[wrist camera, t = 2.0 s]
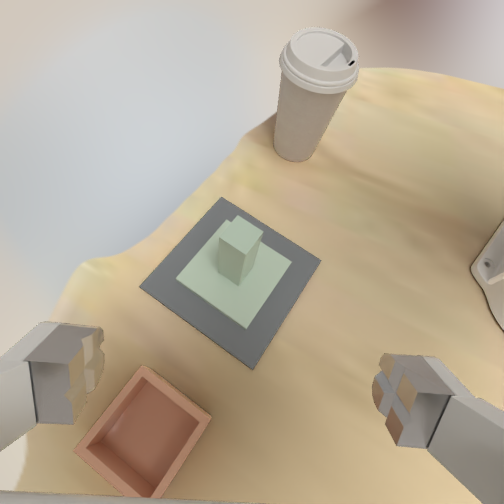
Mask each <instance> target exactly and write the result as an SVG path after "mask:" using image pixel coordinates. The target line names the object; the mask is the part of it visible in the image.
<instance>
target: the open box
mask: <svg viewBox="0 0 504 504" xmlns="http://www.w3.org/2000/svg"><path fill="white" fill-rule="evenodd" d="M211 417H212V416H211V415H210V414H208V413H207V412H206V411H205V410H203V409H202V408H201V407H199V406H198V405H197V404H196V403H194V402H193V401H192V400H190V399H189V398H188V397H187V396H185V395H184V394H183V393H181V392H180V391H179V390H178V389H176V388H175V387H174V386H173V385H171V384H170V383H169V382H167V381H166V380H165V379H164V378H162V377H161V376H160V375H158V374H157V373H156V372H155V371H153V370H152V369H151V368H148V367H145V366H143V365H141V366H140V368H139V369H138V370H137V371H136V373H135V374H134V375H133V376H132V378H131V379H130V380H129V381H128V383H127V384H126V385H125V386H124V388H123V389H122V390H121V391H120V393H119V394H118V395H117V396H116V398H115V399H114V400H113V401H112V403H111V404H110V405H109V406H108V408H107V409H106V410H105V411H104V413H103V414H102V415H101V416H100V418H99V419H98V420H97V421H96V423H95V424H94V425H93V426H92V428H91V429H90V430H89V431H88V433H87V434H86V435H85V436H84V438H83V439H82V440H81V441H80V443H79V444H78V445H77V446H76V448H75V449H74V450H73V452H75V453H76V454H77V455H78V456H79V457H80V458H81V459H83V460H84V461H85V462H86V463H87V464H88V465H89V466H91V467H92V468H93V469H94V470H95V471H96V472H97V473H98V474H100V475H101V476H102V477H103V478H104V479H105V480H106V481H108V482H109V483H110V484H111V485H112V486H113V487H114V488H116V489H117V490H118V491H119V492H120V493H121V494H122V495H123V496H125V497H145V498H161V497H162V495H163V494H164V492H165V491H166V489H167V487H168V486H169V484H170V483H171V481H172V480H173V478H174V477H175V475H176V473H177V472H178V470H179V469H180V467H181V466H182V464H183V463H184V461H185V459H186V458H187V456H188V455H189V453H190V452H191V450H192V449H193V447H194V445H195V444H196V442H197V441H198V439H199V438H200V436H201V435H202V433H203V431H204V430H205V428H206V427H207V425H208V424H209V422H210V420H211Z"/></svg>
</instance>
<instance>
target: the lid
mask: <svg viewBox="0 0 504 504" xmlns="http://www.w3.org/2000/svg"><path fill="white" fill-rule="evenodd" d="M262 236H263V231H262V230H260V229H259V228H257V227H256V226H254V225H252V224H251V223H249V222H248V221H246V220H245V219H243V218H242V217H240V216H238V215H237V216H236V218H235V219H234V220H233V221H232V222H230V221H228V220H227V219H226V221H225V222H224V223H223V224H222V225H221V226H220V227H219V229H218V230H217V231H216V232H215V233H214V234H213V236H212V237H211V238H210V239H209V240H208V241H207V243H206V244H205V245H204V246H203V247H202V248H201V249H200V251H199V252H198V253H197V254H196V255H195V256H194V258H193V259H192V260H191V261H190V262H189V263H188V264H187V266H186V267H185V268H184V269H183V270H182V271H181V273H180V274H179V275H178V276H177V277H176V281H177V282H178V283H180V284H181V285H183V286H184V287H185V288H187V289H188V290H190V291H191V292H193V293H194V294H195V295H197V296H198V297H200V298H201V299H202V300H204V301H205V302H207V303H208V304H209V305H211V306H212V307H214V308H215V309H216V310H218V311H219V312H221V313H222V314H223V315H225V316H226V317H228V318H229V319H230V320H232V321H233V322H235V323H236V324H237V325H239V326H240V327H242V328H243V329H244V330H246V329H247V328H248V326H249V325H250V323H251V322H252V320H253V319H254V318H255V316H256V315H257V313H258V312H259V310H260V309H261V307H262V306H263V304H264V303H265V301H266V300H267V298H268V297H269V295H270V294H271V292H272V291H273V290H274V288H275V287H276V285H277V284H278V282H279V281H280V279H281V278H282V276H283V275H284V273H285V272H286V270H287V269H288V267H289V266H290V264H291V263H292V262H291V261H290V260H288V259H287V258H285V257H284V256H282V255H281V254H279V253H277V252H276V251H274V250H273V249H271V248H270V247H268V246H267V245H265V244H264V243H262V242H261V239H262Z"/></svg>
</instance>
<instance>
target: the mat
mask: <svg viewBox="0 0 504 504" xmlns="http://www.w3.org/2000/svg"><path fill="white" fill-rule="evenodd" d="M237 215H238V216H240V217H242V218H243V219H245V220H246V221H248V222H249V223H251V224H252V225H254V226H256V227H257V228H259V229H260V230H262V231H263V236H262V239H261V242H262V243H264V244H265V245H267V246H268V247H270V248H271V249H273V250H274V251H276V252H277V253H279V254H281V255H282V256H284V257H285V258H287V259H288V260H290V261H291V262H292V263H291V264H290V266H289V267H288V269H287V270H286V272H285V273H284V275H283V276H282V278H281V279H280V281H279V282H278V284H277V285H276V287H275V288H274V290H273V291H272V292H271V294H270V295H269V297H268V298H267V300H266V301H265V303H264V304H263V306H262V307H261V309H260V310H259V312H258V313H257V315H256V316H255V318H254V319H253V320H252V322H251V323H250V325H249V326H248V328H247V329H246V330H244V329H243V328H242V327H240V326H239V325H237V324H236V323H235V322H233V321H232V320H230V319H229V318H228V317H226V316H225V315H223V314H222V313H221V312H219V311H218V310H216V309H215V308H214V307H212V306H211V305H209V304H208V303H207V302H205V301H204V300H202V299H201V298H200V297H198V296H197V295H195V294H194V293H193V292H191V291H190V290H188V289H187V288H185V287H184V286H183V285H181V284H180V283H178V282H177V281H176V277H177V276H178V275H179V274H180V273H181V271H182V270H183V269H184V268H185V267H186V266H187V264H188V263H189V262H190V261H191V260H192V259H193V258H194V256H195V255H196V254H197V253H198V252H199V251H200V249H201V248H202V247H203V246H204V245H205V244H206V243H207V241H208V240H209V239H210V238H211V237H212V236H213V234H214V233H215V232H216V231H217V230H218V229H219V227H220V226H221V225H222V224H223V223H224V222H225V221H226V219H227V220H228V221H230V222H232V221H233V220H234V219H235V218H236V216H237ZM320 262H321V260H320V259H318V258H317V257H315V256H314V255H312V254H310V253H309V252H307V251H306V250H304V249H303V248H301V247H299V246H298V245H296V244H295V243H293V242H292V241H290V240H288V239H287V238H285V237H284V236H282V235H281V234H279V233H278V232H276V231H274V230H273V229H271V228H270V227H268V226H267V225H265V224H263V223H262V222H260V221H259V220H257V219H256V218H254V217H252V216H251V215H249V214H248V213H246V212H245V211H243V210H241V209H240V208H238V207H237V206H235V205H234V204H232V203H231V202H229V201H227V200H226V199H224V198H223V197H221V198H220V199H219V200H218V201H217V202H216V203H215V204H214V205H213V206H212V208H211V209H210V210H209V211H208V212H207V213H206V214H205V215H204V216H203V217H202V219H201V220H200V221H199V222H198V223H197V224H196V225H195V226H194V227H193V228H192V229H191V231H190V232H189V233H188V234H187V235H186V236H185V237H184V238H183V239H182V240H181V241H180V243H179V244H178V245H177V246H176V247H175V248H174V249H173V250H172V251H171V252H170V254H169V255H168V256H167V257H166V258H165V259H164V260H163V261H162V262H161V263H160V264H159V266H158V267H157V268H156V269H155V270H154V271H153V272H152V273H151V274H150V275H149V276H148V278H147V279H146V280H145V281H144V282H143V283H142V284H141V285H140V286H139V287H140V288H141V289H143V290H144V291H146V292H147V293H148V294H150V295H151V296H152V297H154V298H155V299H156V300H158V301H159V302H161V303H162V304H163V305H165V306H166V307H167V308H169V309H170V310H171V311H173V312H174V313H176V314H177V315H178V316H180V317H181V318H182V319H184V320H185V321H186V322H188V323H189V324H191V325H192V326H193V327H195V328H196V329H197V330H199V331H200V332H201V333H203V334H204V335H206V336H207V337H208V338H210V339H211V340H212V341H214V342H215V343H216V344H218V345H219V346H221V347H222V348H223V349H225V350H226V351H227V352H229V353H230V354H231V355H233V356H234V357H236V358H237V359H238V360H240V361H241V362H242V363H244V364H245V365H246V366H248V367H249V368H251V369H252V370H253V369H254V367H255V366H256V364H257V362H258V361H259V359H260V358H261V356H262V354H263V353H264V351H265V350H266V348H267V346H268V345H269V343H270V342H271V340H272V338H273V337H274V335H275V334H276V332H277V330H278V329H279V327H280V326H281V324H282V322H283V321H284V319H285V318H286V316H287V315H288V313H289V311H290V310H291V308H292V307H293V305H294V303H295V302H296V300H297V299H298V297H299V295H300V294H301V292H302V291H303V289H304V287H305V286H306V284H307V283H308V281H309V279H310V278H311V276H312V275H313V273H314V271H315V270H316V268H317V267H318V265H319V264H320Z"/></svg>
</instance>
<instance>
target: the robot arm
mask: <svg viewBox="0 0 504 504" xmlns="http://www.w3.org/2000/svg"><path fill="white" fill-rule="evenodd" d="M485 265H486V266H485ZM471 272H472V274H473V276H474V277H475V279H476V280H477V282H478V283H479V284H480V286H481V287H482V288H483V290H484V292H485V295H486V297H487V300H488V303H489V306H490V309H491V311H492V313H493V315H494V317H495V318H496V320H497V322H498V323H499V325H500V326H501V327H502V329H503V330H504V220H503V222H502V223H501V225H500V226H499V227H498V229H497V230H496V232H495V233H494V235H493V236H492V237H491V239H490V240H489V242H488V243H487V245H486V246H485V247H484V249H483V250H482V252H481V253H480V255H479V256H478V257H477V259H476V260H475V262H474V263H473V265H472V266H471ZM103 341H104V335H103V330H102V328H101V327H95V326H86V325H77V324H68V323H58V322H47V321H45V322H41V323H39V324H38V325H37V326H36V327H34V328H33V329H32V330H31V331H30V332H29V333H28V334H26V335H25V336H24V337H23V338H22V339H21V340H20V341H18V342H17V343H16V344H15V345H14V346H13V347H12V348H10V349H9V350H8V351H7V352H6V353H5V354H4V355H2V356H1V357H0V451H2V450H3V449H5V448H6V447H7V446H9V445H10V444H11V443H13V442H14V441H16V440H17V439H18V438H20V437H21V436H22V435H24V434H25V433H27V432H28V431H29V430H31V429H32V428H33V427H35V426H36V425H37V423H46V424H73V425H74V423H75V421H76V420H77V418H78V416H79V415H80V413H81V411H82V410H83V408H84V406H85V405H86V403H87V396H86V394H88V393H89V392H91V391H93V390H94V389H95V388H96V386H97V385H98V383H99V381H100V378H101V375H102V372H103V369H104V353H103V352H102V350H101V349H100V348H99V347H100V345H101V344H102V342H103ZM379 366H380V368H381V370H382V371H381V372H380V373H378V374H377V375H376V376H375V377H374V381H373V384H372V396H373V400H374V403H375V405H376V407H377V409H378V411H379V412H381V413H382V414H383V415H384V416H385V417H387V419H386V423H385V425H386V427H387V429H388V431H389V432H390V434H391V436H392V438H393V440H394V442H395V444H396V446H402V447H412V448H422V449H428V450H427V451H428V452H429V453H430V454H431V455H432V456H433V457H434V458H435V459H436V460H438V461H439V462H440V463H441V464H442V465H443V466H444V467H445V468H446V469H447V470H448V471H449V472H450V473H451V474H452V475H453V476H454V477H455V478H456V479H457V480H459V481H460V482H461V483H462V484H463V485H464V486H465V487H466V488H467V489H468V490H469V491H470V492H471V493H472V494H473V495H474V496H475V497H476V498H477V499H479V500H480V501H481V502H482V503H483V504H504V411H502V410H500V409H498V408H497V407H495V406H493V405H492V404H490V403H488V402H486V401H485V400H483V399H481V398H475V397H474V396H473V395H472V394H471V393H470V391H469V390H468V389H467V388H466V387H465V386H464V385H463V384H462V383H461V382H460V381H459V380H458V379H457V378H456V376H455V375H454V374H453V373H452V372H451V371H450V370H449V369H448V368H447V367H446V366H445V365H444V364H443V363H442V361H441V360H440V359H438V358H436V357H434V356H421V355H417V356H414V355H402V354H389V353H384V354H383V356H382V357H381V359H380V362H379ZM0 504H264V503H244V502H224V501H205V500H185V499H165V498H145V497H124V496H104V495H84V494H64V493H44V492H24V491H4V490H3V491H2V490H0Z"/></svg>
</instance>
